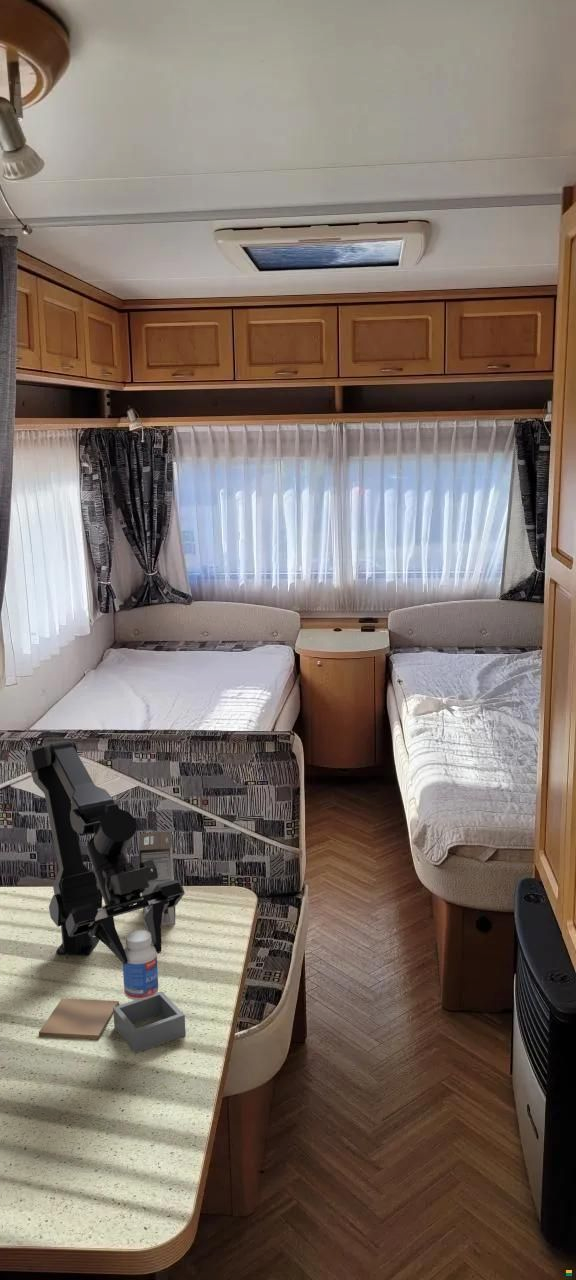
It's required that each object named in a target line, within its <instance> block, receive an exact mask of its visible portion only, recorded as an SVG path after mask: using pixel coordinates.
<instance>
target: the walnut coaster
mask: <svg viewBox="0 0 576 1280" xmlns="http://www.w3.org/2000/svg"><path fill="white" fill-rule="evenodd" d="M119 1005H120V1001H119V1000H103V999H83V998H82V999H81V998H62V997H61V998H60V1001H59V1002H58V1003H57V1005H56V1006H55V1008H54V1010H52V1013H51V1014H50V1015H49V1016H48V1018H47V1020H46V1021H45V1022H44V1024H43V1025H42V1027H41V1028H40V1029H39V1031H38V1036H39V1037H40V1036H41V1037H53V1038H54V1037H57V1038H74V1039H75V1038H77V1039H89V1040H90V1039H91V1040H92V1039H95V1040H99V1039H100V1038H101V1037H102V1035H103V1033H104V1032H105V1030H106V1027H108V1024H109V1022H110V1020H111V1019H112V1017H113V1016H114V1015H113V1007H116V1006H119Z"/></svg>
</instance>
